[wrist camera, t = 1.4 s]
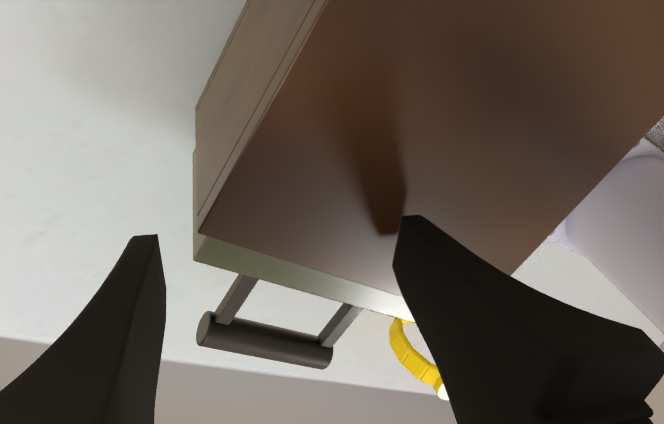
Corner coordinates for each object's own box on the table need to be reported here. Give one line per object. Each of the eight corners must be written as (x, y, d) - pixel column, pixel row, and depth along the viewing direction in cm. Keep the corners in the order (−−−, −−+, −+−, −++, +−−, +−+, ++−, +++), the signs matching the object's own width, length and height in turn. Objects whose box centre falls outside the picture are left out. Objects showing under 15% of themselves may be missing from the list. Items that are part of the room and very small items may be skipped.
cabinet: (394, 196, 26) (470, 318, 19) (194, 107, 21) (196, 233, 14) (604, -86, 20) (832, -60, 13) (400, -318, 15) (600, -495, 7)
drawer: (327, 286, 28) (362, 395, 22) (151, 235, 23) (137, 357, 17) (562, -27, 20) (709, 14, 15) (373, -207, 15) (483, -251, 10)
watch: (373, 323, 32) (404, 400, 28) (390, 294, 31) (425, 370, 26) (444, 329, 35) (484, 401, 30) (463, 302, 33) (507, 373, 29)
